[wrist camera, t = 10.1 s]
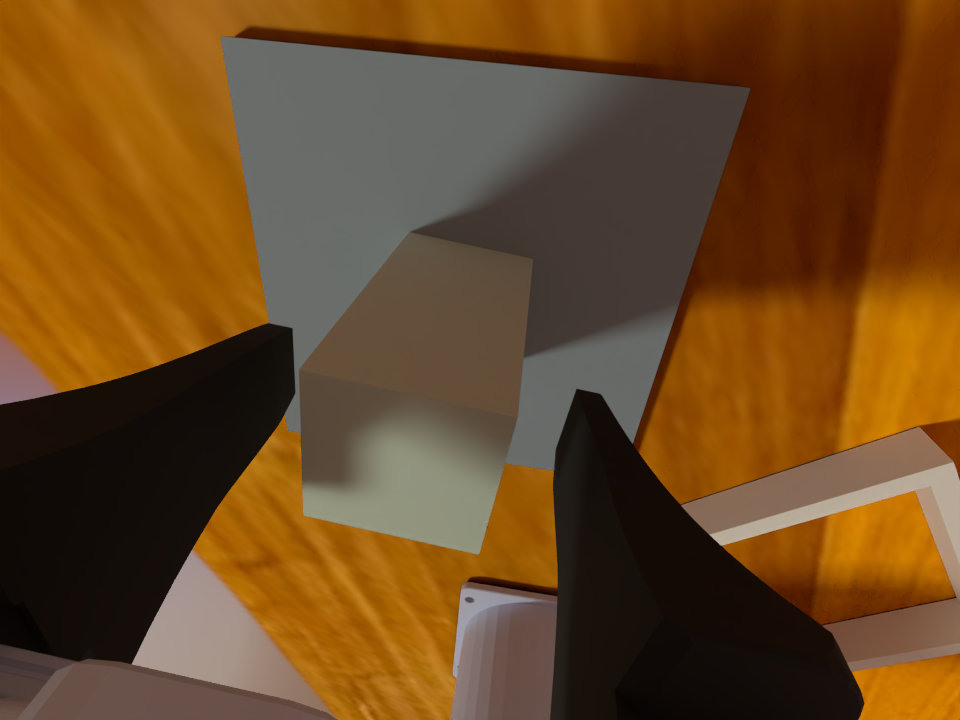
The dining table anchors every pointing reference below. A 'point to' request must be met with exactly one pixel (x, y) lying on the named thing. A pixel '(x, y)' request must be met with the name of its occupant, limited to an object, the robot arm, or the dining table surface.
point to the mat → (485, 200)
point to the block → (418, 395)
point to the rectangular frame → (848, 484)
